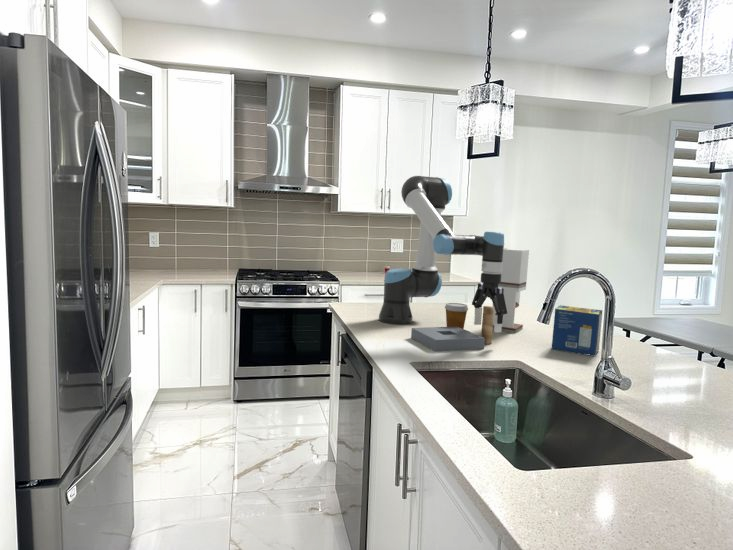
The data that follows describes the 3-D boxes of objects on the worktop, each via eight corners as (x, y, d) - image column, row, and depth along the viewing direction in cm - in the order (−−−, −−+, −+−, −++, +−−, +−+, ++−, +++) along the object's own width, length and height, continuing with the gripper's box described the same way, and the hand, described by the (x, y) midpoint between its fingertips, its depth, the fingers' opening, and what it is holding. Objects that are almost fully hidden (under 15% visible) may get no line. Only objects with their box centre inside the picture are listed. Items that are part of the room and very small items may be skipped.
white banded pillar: (515, 333, 217) (522, 250, 214) (490, 329, 223) (496, 248, 219) (522, 329, 227) (529, 249, 223) (498, 325, 233) (504, 248, 229)
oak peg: (478, 342, 198) (481, 306, 197) (487, 341, 200) (490, 305, 198) (484, 344, 195) (487, 307, 193) (493, 344, 196) (496, 307, 194)
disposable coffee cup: (465, 331, 216) (467, 303, 215) (467, 336, 207) (469, 307, 205) (442, 330, 217) (444, 302, 216) (443, 335, 207) (445, 305, 206)
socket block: (411, 337, 200) (411, 327, 199) (456, 336, 206) (457, 326, 206) (434, 351, 181) (435, 340, 180) (484, 348, 188) (484, 338, 187)
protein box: (556, 344, 201) (559, 304, 200) (599, 350, 194) (603, 310, 192) (550, 349, 192) (554, 308, 191) (595, 356, 185) (599, 313, 183)
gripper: (465, 269, 205) (461, 321, 207) (502, 276, 181) (497, 335, 184) (481, 269, 207) (478, 321, 209) (520, 276, 184) (515, 335, 186)
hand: (487, 328), depth 197 cm, fingers open, 13 cm apart
